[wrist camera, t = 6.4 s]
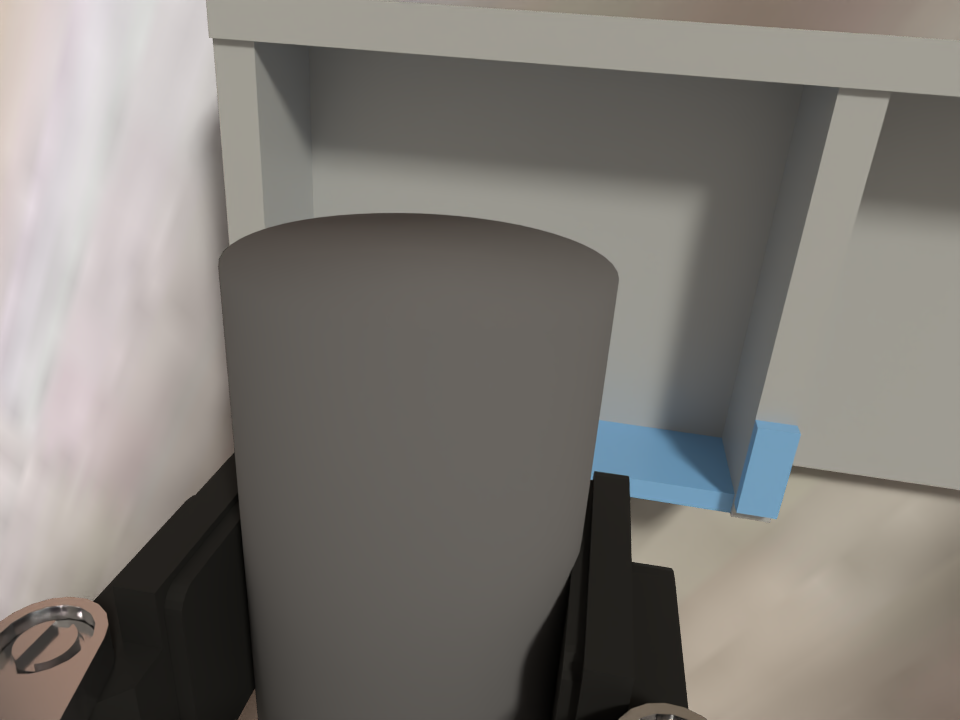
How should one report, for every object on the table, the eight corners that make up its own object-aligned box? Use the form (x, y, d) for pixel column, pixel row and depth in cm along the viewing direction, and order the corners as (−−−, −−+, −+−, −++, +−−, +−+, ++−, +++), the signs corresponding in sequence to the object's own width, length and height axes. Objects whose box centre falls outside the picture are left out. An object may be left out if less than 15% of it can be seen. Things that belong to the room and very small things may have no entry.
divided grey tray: (1508, 81, 19) (1795, 98, 15) (1243, 517, 25) (1386, 630, 20) (284, -4, 24) (199, -13, 19) (300, 380, 30) (237, 446, 25)
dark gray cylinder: (309, 199, 11) (119, 298, 7) (622, 231, 10) (625, 360, 6) (326, 699, 15) (215, 951, 11) (550, 743, 14) (523, 1025, 10)
